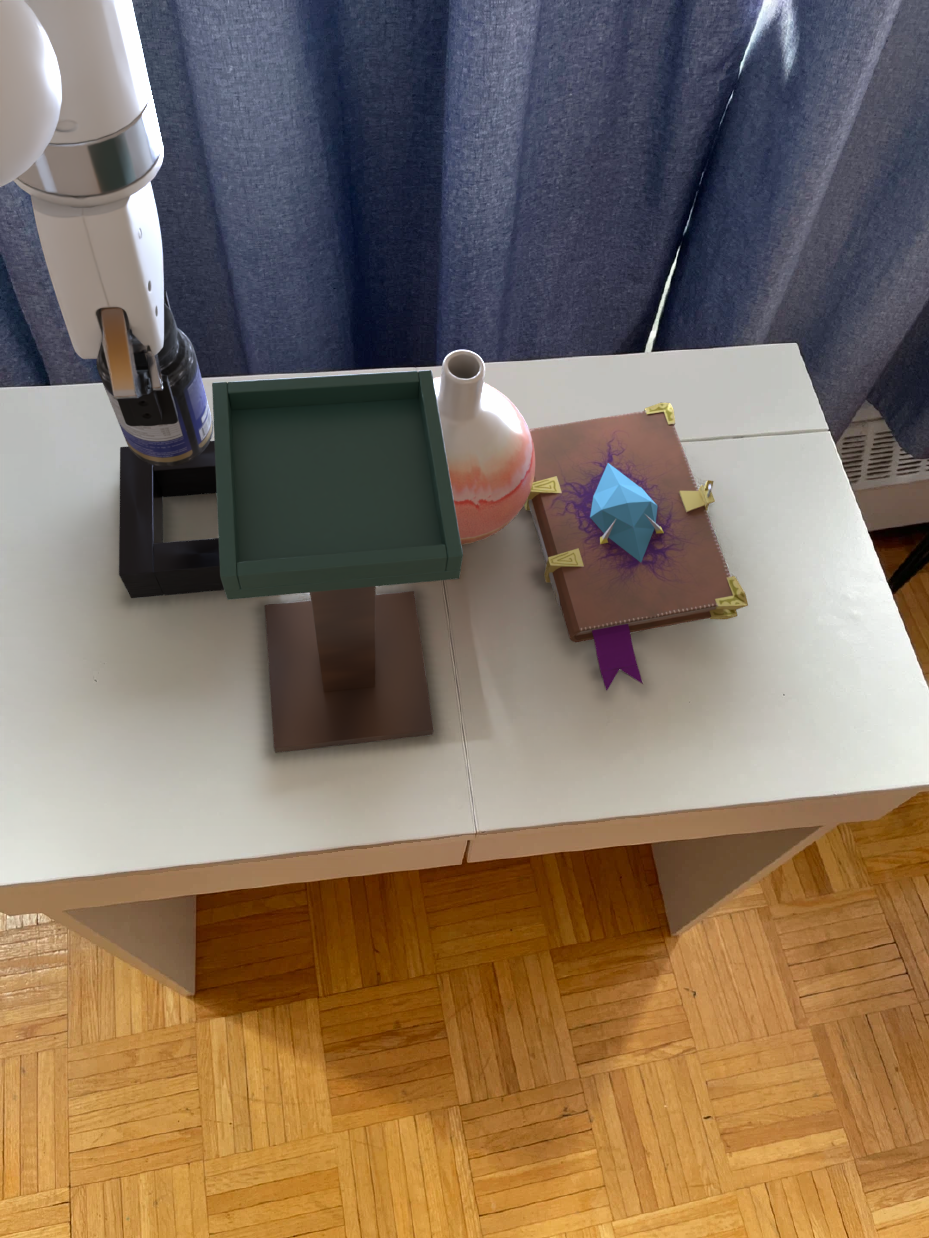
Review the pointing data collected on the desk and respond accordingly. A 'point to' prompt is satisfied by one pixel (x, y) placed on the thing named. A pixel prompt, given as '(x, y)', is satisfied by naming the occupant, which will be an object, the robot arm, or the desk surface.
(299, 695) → the stand
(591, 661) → the desk surface
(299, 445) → the tray
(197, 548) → the holder
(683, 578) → the book
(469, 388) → the vase
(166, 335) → the pill bottle
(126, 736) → the desk surface
